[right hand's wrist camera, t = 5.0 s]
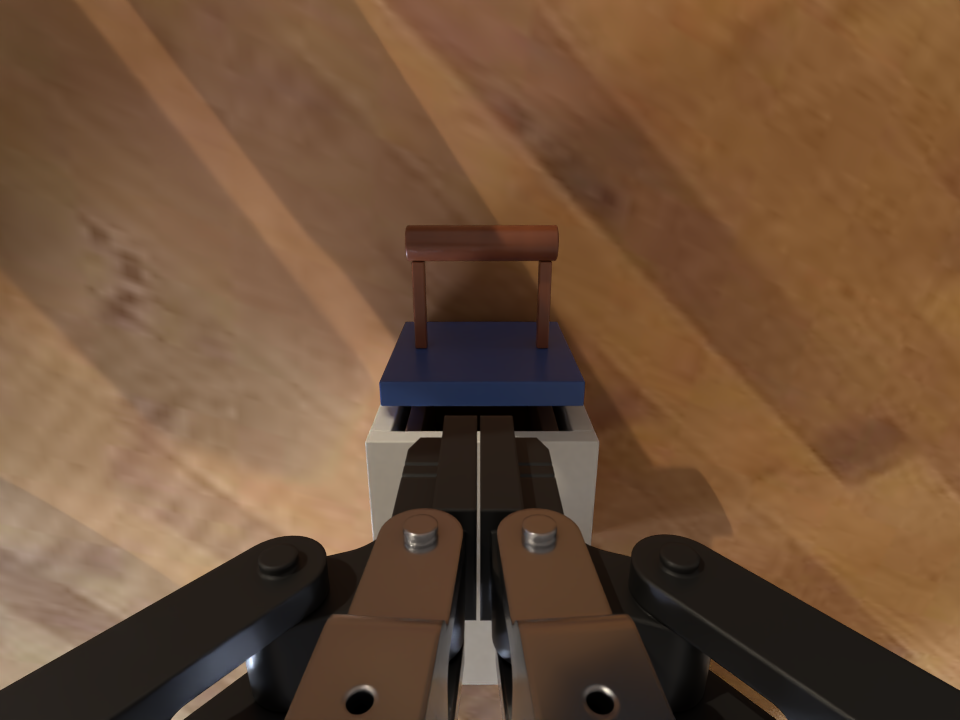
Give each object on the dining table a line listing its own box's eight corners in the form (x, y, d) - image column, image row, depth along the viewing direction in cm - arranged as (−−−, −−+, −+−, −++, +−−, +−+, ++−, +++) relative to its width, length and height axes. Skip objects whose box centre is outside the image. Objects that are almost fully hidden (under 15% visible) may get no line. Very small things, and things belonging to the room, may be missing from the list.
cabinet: (399, 353, 35) (364, 441, 24) (563, 353, 35) (600, 441, 24) (409, 543, 40) (384, 685, 29) (552, 543, 40) (579, 685, 29)
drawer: (400, 215, 31) (369, 239, 22) (562, 215, 31) (595, 239, 22) (414, 508, 38) (395, 615, 29) (548, 508, 38) (568, 615, 29)
